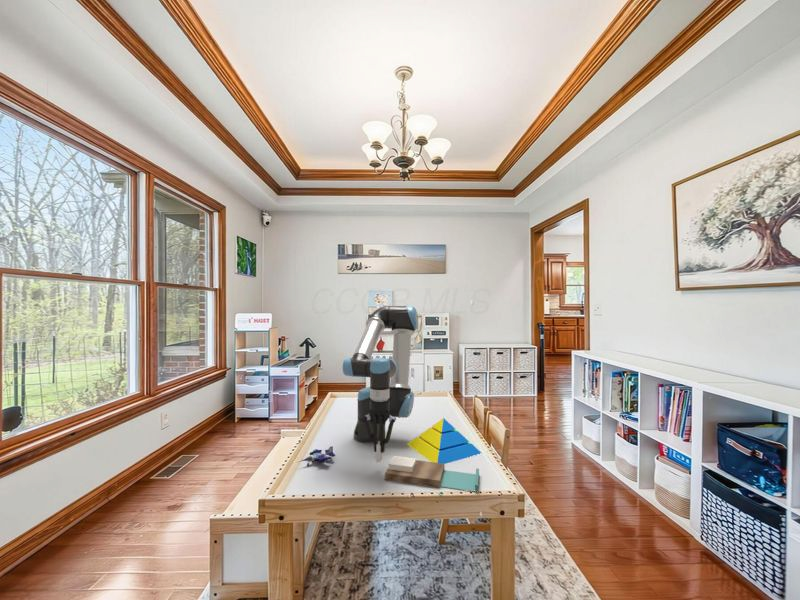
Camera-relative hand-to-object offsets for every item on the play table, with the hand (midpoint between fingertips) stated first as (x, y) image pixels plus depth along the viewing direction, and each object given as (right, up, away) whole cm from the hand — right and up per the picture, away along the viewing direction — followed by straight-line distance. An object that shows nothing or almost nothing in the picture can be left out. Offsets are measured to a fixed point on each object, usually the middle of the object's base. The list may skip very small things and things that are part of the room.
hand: (379, 460), depth 133 cm
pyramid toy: (+27, -5, +20) cm, 34 cm away
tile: (+9, -1, -2) cm, 9 cm away
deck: (+14, -4, -4) cm, 15 cm away
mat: (+30, -4, -8) cm, 31 cm away
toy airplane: (-25, -4, +6) cm, 26 cm away
